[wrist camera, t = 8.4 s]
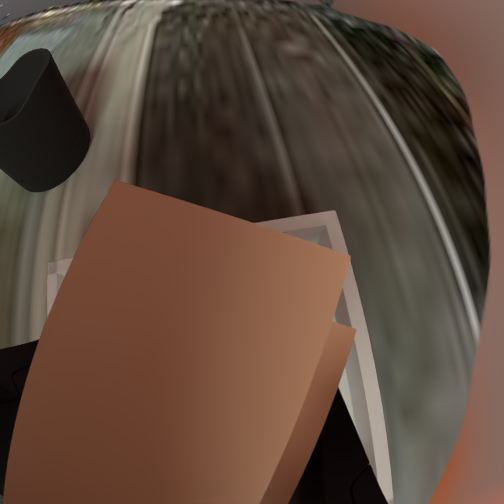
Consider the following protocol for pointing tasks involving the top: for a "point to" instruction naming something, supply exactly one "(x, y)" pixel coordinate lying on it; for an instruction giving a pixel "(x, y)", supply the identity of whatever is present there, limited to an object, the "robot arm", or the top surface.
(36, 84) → the pen holder
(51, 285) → the tray
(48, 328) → the post
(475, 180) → the top surface
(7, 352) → the robot arm
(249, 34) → the top surface
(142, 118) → the top surface
